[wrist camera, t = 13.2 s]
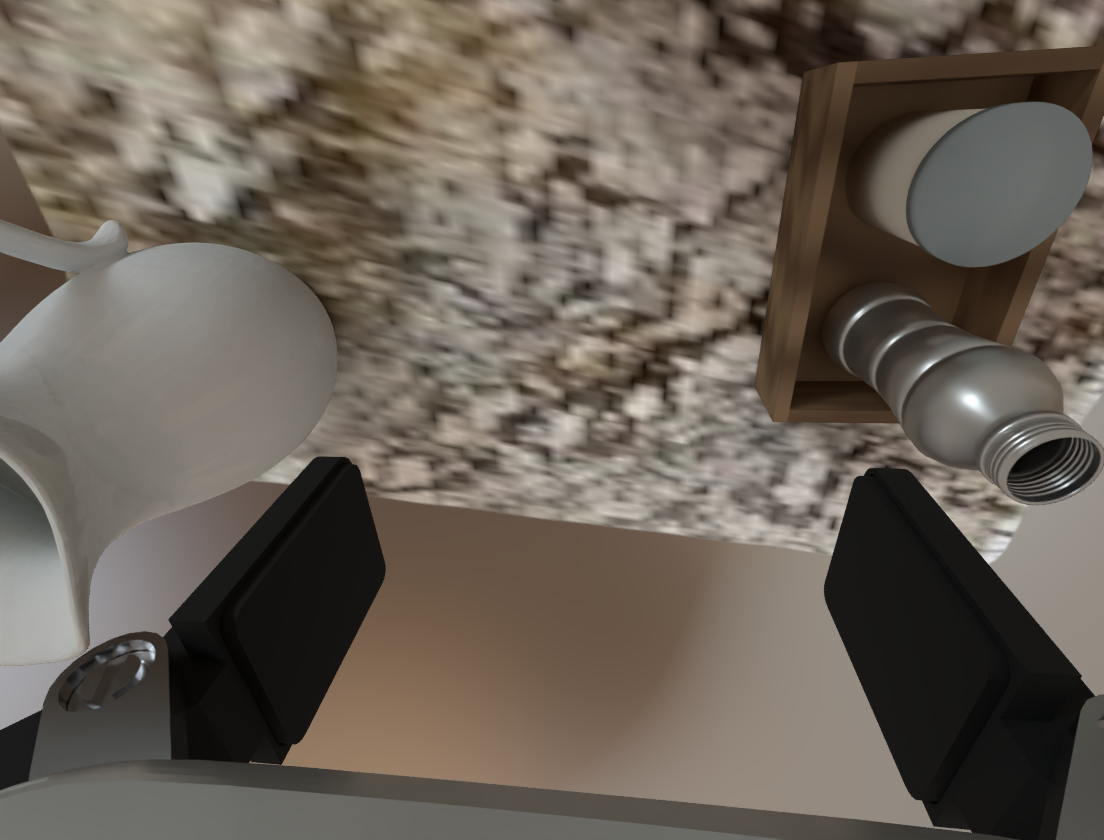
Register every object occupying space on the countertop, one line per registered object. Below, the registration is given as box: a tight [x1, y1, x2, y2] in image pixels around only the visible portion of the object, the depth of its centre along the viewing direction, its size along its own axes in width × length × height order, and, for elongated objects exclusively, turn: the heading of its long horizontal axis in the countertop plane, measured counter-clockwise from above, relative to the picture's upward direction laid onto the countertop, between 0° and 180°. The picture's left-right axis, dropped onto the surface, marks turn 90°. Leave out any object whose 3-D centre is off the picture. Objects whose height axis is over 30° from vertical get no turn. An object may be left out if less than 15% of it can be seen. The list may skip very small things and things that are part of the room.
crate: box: [755, 46, 1104, 423], centre depth 35 cm, size 22×14×6 cm, turn 3°
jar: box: [845, 102, 1093, 267], centre depth 30 cm, size 7×7×10 cm
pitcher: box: [0, 219, 338, 666], centre depth 32 cm, size 24×17×28 cm
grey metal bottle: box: [822, 282, 1104, 505], centre depth 31 cm, size 6×7×20 cm
